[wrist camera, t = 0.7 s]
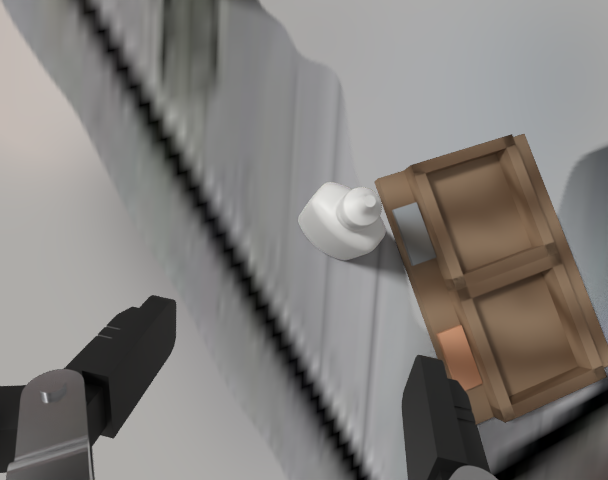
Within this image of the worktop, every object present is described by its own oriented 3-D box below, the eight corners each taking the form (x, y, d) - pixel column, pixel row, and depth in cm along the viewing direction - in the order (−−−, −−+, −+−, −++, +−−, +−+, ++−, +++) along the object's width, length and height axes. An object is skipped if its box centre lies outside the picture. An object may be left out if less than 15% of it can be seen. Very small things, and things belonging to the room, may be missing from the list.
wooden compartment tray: (374, 181, 35) (383, 173, 33) (517, 137, 38) (535, 127, 35) (461, 424, 34) (478, 434, 31) (604, 361, 36) (630, 366, 34)
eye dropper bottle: (339, 194, 35) (385, 143, 23) (362, 253, 34) (422, 234, 22) (292, 210, 34) (316, 167, 22) (316, 271, 33) (353, 261, 22)
